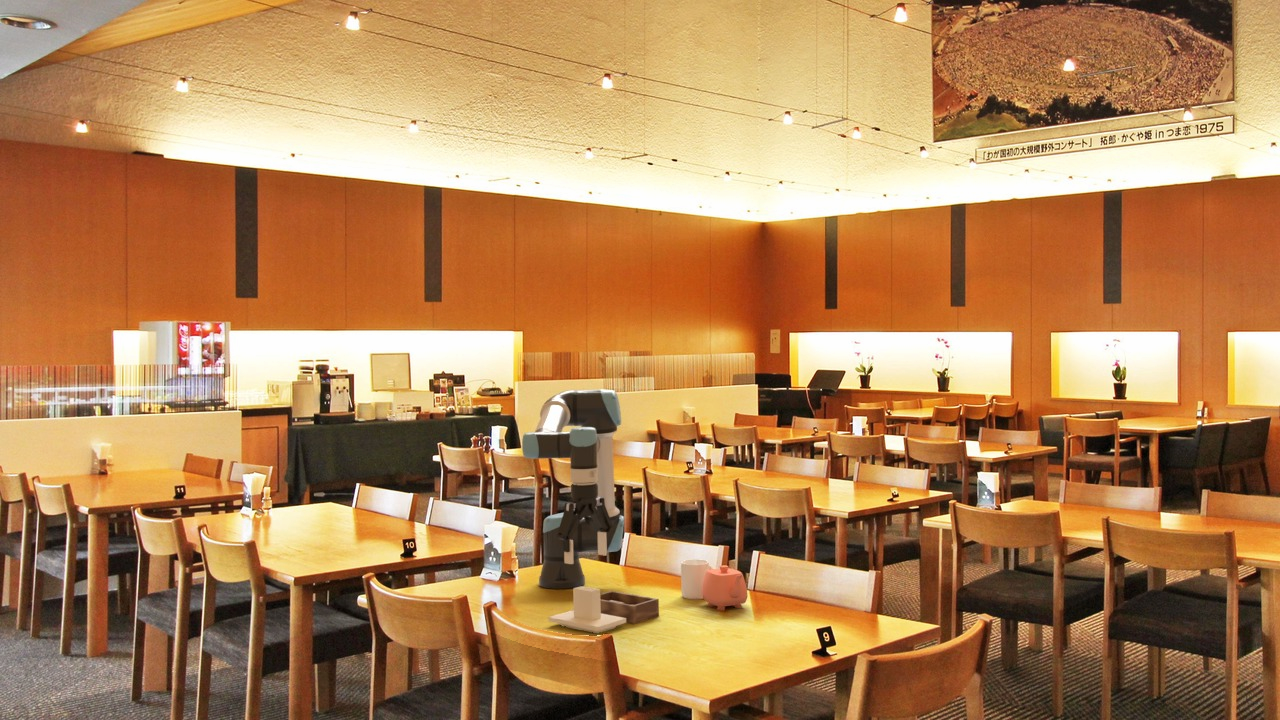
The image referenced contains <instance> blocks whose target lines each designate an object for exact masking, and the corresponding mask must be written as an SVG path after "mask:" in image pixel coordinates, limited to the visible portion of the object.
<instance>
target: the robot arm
mask: <svg viewBox="0 0 1280 720" xmlns="http://www.w3.org/2000/svg"><path fill="white" fill-rule="evenodd" d="M539 417H540V419H539V422H538V423H537V425H536V428H535V430H534V431H531V432H525V433H524V434H523V435H522V440H521V445H522V454H523V457H524V458H526V459H534V460H537V459H538V460H539V459H541V460H542V459H570V460H569V461H570V468H569V469H570V471H569V472H570V482H571V483H572V484H571V485H570V496H571V498H572V499H573V500H572V503H570V502H565V503H564V508H563V509H564V511H563V512H560V513H556V514H551V515H548V516H547V517H545V518H544V520H543V527H542V533H543V536H542V537H543V564H542V567H541V572H540V575H539V577H538V585H539V586H540V587H541V588H545V589H553V590H554V589H555V590H556V589H557V590H558V589H559V590H560V589H561V590H563V589H573V588H577V587H581V586H584V585H585V584H586V577H585V574H584V572H583V568H582V564H581V562H580V553H597V555H598V556H607V555H608V553H611V552H618V551H620V549H621V548H622V542H623V535H624V526H625V525H624V524H625V516H623V515H621V513H620V512H621V511H620V509H619V508H618V507H617V506H616V503H615V502H616V500H615V497H616V496H615V474H614V473H615V472H614V471H615V470H614V442H613V440H614V439H613V437H614V434H616V432H617V431H618V426H621V425H622V413H621V406H620V401H619V397H618V393H617V392H616V391H615V390H613V389H603V388H600V389H599V388H596V389H595V388H594V389H578V390H577V389H570V390H564V391H561V392H559V393H557V394H555V395H553V396H551V397H550V398H549V399H547V400H546V401H545V402H544V403H543V404H542V407H541V408H540V412H539ZM565 427H572V428H571V429H570V430H569V431H563V429H564V428H565Z"/></svg>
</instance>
